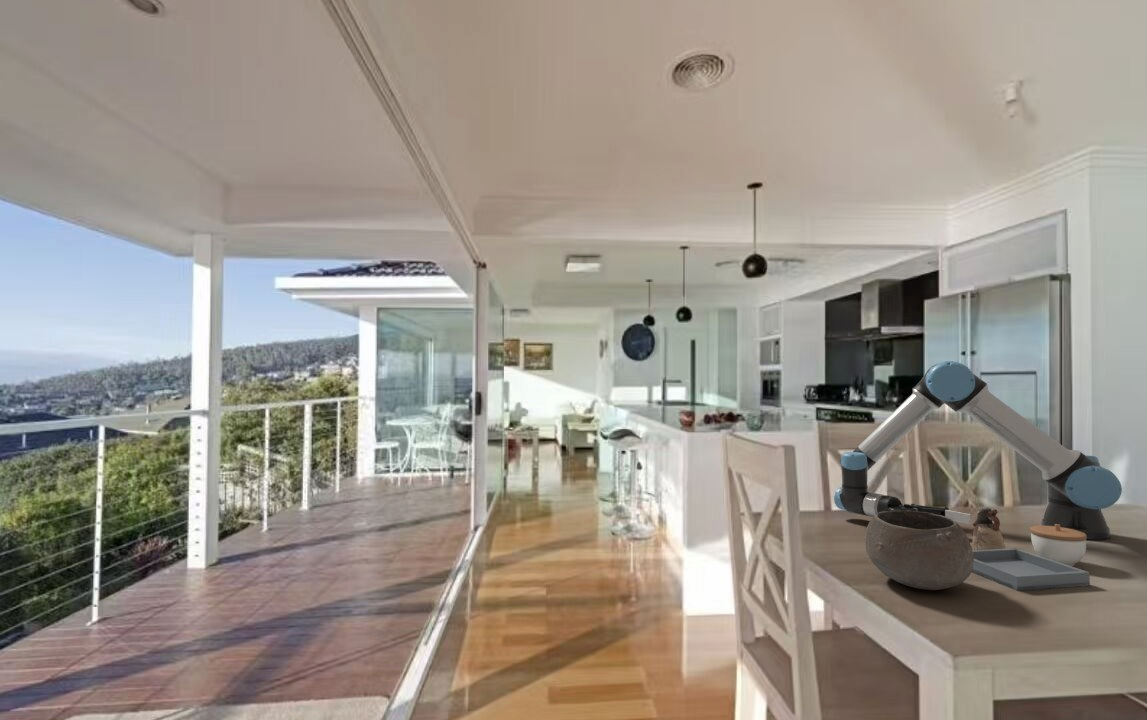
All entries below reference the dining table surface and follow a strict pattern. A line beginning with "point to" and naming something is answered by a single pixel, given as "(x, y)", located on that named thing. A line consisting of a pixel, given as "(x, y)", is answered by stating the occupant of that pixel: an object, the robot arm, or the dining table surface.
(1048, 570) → the tray
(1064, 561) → the lidded jar
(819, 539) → the dining table surface
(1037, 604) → the dining table surface
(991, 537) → the figurine
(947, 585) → the clay pot
